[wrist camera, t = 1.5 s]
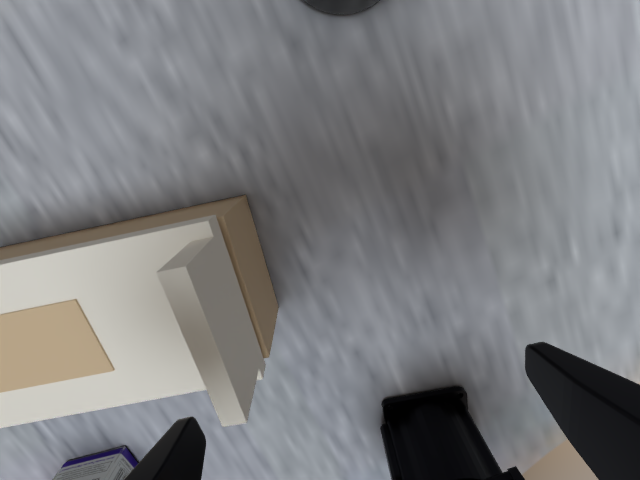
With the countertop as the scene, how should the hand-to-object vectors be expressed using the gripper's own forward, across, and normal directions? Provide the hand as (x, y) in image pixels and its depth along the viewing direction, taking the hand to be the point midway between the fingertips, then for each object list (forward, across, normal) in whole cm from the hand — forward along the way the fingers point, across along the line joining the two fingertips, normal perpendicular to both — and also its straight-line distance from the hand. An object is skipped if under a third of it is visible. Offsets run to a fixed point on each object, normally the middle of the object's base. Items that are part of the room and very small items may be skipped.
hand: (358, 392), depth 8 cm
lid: (+7, +12, 0) cm, 14 cm away
